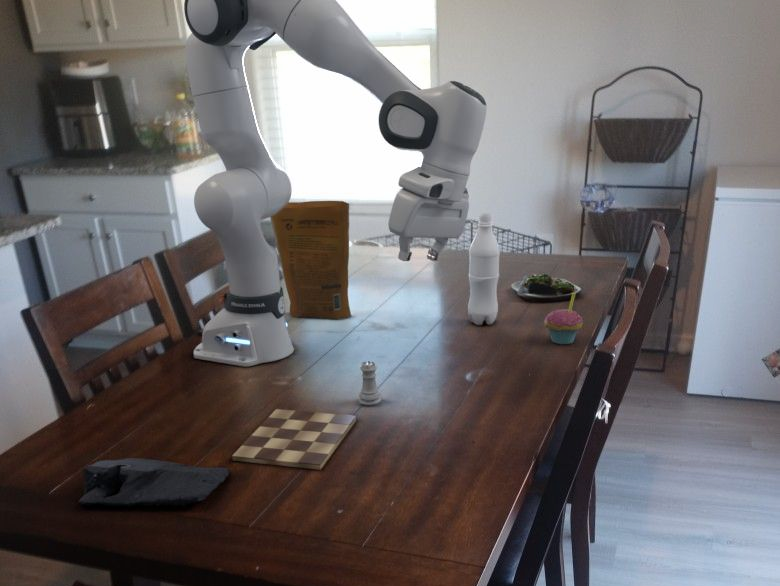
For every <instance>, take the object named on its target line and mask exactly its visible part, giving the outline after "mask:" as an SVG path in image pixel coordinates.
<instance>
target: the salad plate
mask: <svg viewBox="0 0 780 586" xmlns="http://www.w3.org/2000/svg"><path fill="white" fill-rule="evenodd" d="M511 288H512V290H513V291H514V292H516V294H517V296H518V297H521V298H522V299H523V300H525V301H527V302H530V303H531V302H532V303H539V304H540V303H542V304H544V303H558V302H566V301H571V298H572V293H573V292H574V291H575V289H576V291H575V293H576V294H575V298H574V299H576V298H577V297H578V296H579V295H580V294H581V292H582V288H581V287H580V286H578V285H575V284H574V283H572V282H571V281H569V280H568V279H565V278H559V277H551V276H550V275H549V274H547V273H543V274H540V275H537V274H536V273H533V274H532V275H531V276H530V275H524V276H523V278H522V280H519V281H515V282H513V283H511Z"/></svg>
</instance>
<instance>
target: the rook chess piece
mask: <svg viewBox="0 0 780 586" xmlns="http://www.w3.org/2000/svg"><path fill="white" fill-rule="evenodd" d="M377 369H378V367H377V365H376V362H375V361H373V360H372V361H371V360H364V361H363V362H361V366H360V367H359V370H360V371H361V372H362V374H361V377H362V387H361V389H360V392H359V393H358V397H359V398H358V402H359V404H361V405H362V406H366V407H373V406H374V407H375V406H376V405H379V404H380V403H381V402H382V397H381V396H382V394H381V392H380V391H379V388H378V386H377V382H376V378H377V374H376V371H377Z"/></svg>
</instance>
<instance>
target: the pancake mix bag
mask: <svg viewBox="0 0 780 586" xmlns="http://www.w3.org/2000/svg"><path fill="white" fill-rule="evenodd" d="M269 219H270V223H271V226H272V230H273V231H272V232H273V236H274V241H275V247H276V251H277V255H278V260H279V263H280V266H281V271H282V275H283V279H284V284H285V288H286V292H287V296H288V299H289V314H290V315H291V316H293V317H295V318H300V319H301V318H302V319H303V318H304V319H325V320H344V319H347V318H350V317H352V313H351V309H350V300H349V261H350V260H349V259H350V203H349V202H346V201H343V200H310V201H300V202H299V201H298V202H297V201H295V202H294V201H293V202H291V201H289V202H288V204H287V205H286V206H285V207H284V208H283V209H282V210H280V211H279V212H278V213H277V214H275V215H274V216H272V217H269Z"/></svg>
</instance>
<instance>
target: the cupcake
mask: <svg viewBox="0 0 780 586" xmlns="http://www.w3.org/2000/svg"><path fill="white" fill-rule="evenodd" d="M575 291H576V289H575ZM575 291H574V292H573V293H572V298H571V300H570V301H569V306H568V308H565V309H555V310H553V311H551V312H549V313H548V314H547V315H545V319H544V326H545V328H547V329H548V331H549V334H550V338H551V341H552V342H553V343H554V344H557V345H571V344H572V343H574V342H575V341H574V340H575V338H576V335H577V333H578V332H579V330H581V329H582V327H583V324H584V321H585V319H584V318H583V317H582V316H581V314H580V313H578V311H575V310H573V305H574V301H575V299H576V298H575V294H576V293H575Z"/></svg>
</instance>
